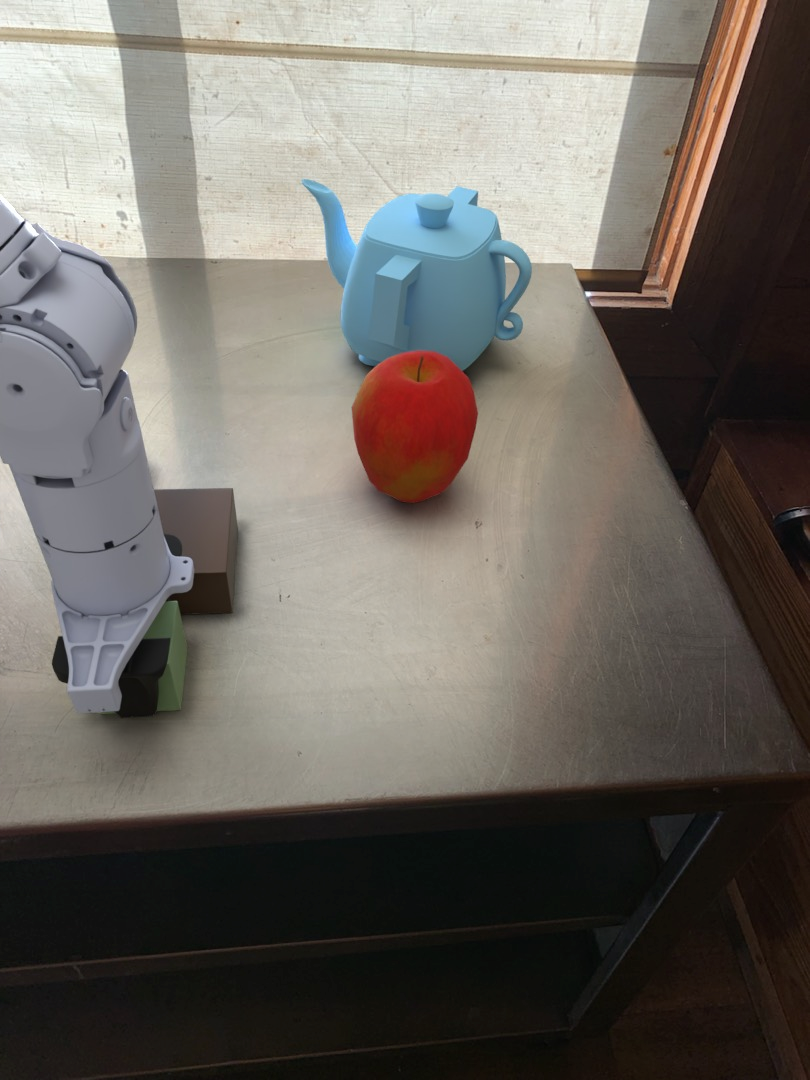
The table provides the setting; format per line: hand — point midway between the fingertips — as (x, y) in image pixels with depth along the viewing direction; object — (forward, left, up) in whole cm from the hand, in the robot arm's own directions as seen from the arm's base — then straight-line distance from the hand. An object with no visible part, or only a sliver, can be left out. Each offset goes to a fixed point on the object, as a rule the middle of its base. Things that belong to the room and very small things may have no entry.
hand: (143, 675), depth 48 cm
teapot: (+20, +38, -1) cm, 43 cm away
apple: (+18, +17, -1) cm, 25 cm away
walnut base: (+1, +9, 0) cm, 9 cm away
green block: (0, 0, 0) cm, 0 cm away
